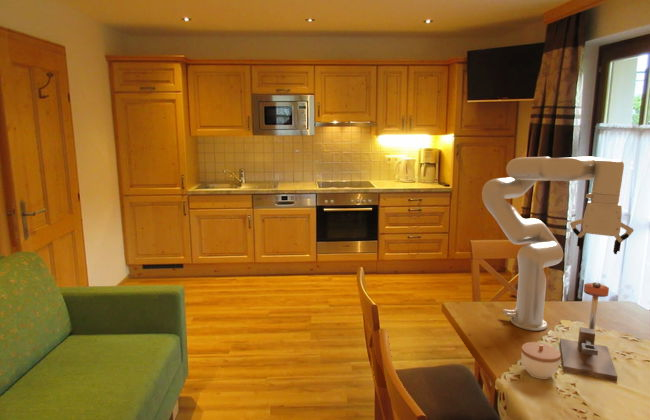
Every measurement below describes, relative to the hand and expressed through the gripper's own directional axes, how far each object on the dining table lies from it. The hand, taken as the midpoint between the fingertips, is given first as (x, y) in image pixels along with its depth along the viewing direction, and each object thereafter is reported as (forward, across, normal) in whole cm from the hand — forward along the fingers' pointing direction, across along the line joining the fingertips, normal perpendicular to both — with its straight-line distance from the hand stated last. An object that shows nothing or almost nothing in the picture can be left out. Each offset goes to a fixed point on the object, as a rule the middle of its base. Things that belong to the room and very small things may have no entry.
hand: (597, 250), depth 144 cm
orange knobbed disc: (+22, 0, -12) cm, 25 cm away
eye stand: (+34, 0, -8) cm, 35 cm away
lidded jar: (+35, -13, -24) cm, 44 cm away
